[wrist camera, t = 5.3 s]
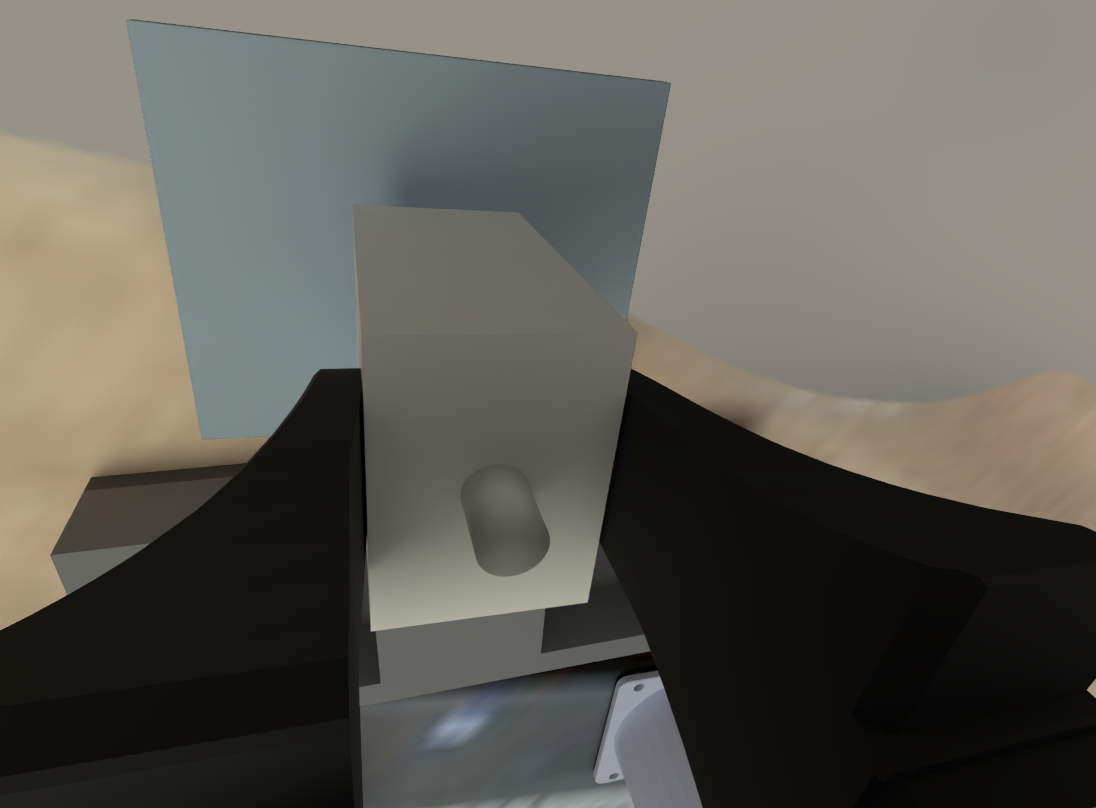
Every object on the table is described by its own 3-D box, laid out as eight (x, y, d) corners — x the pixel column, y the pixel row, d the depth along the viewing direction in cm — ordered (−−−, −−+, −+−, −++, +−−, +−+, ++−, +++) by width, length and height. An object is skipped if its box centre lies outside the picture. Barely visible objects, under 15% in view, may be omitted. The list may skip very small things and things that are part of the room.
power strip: (720, 413, 24) (784, 480, 20) (682, 571, 28) (729, 649, 24) (95, 469, 18) (40, 573, 15) (160, 654, 22) (129, 769, 19)
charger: (518, 212, 15) (676, 371, 8) (502, 405, 17) (611, 659, 10) (351, 204, 14) (365, 379, 7) (359, 411, 16) (374, 697, 9)
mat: (662, 81, 17) (671, 83, 16) (602, 412, 22) (607, 420, 21) (132, 19, 13) (125, 19, 13) (205, 429, 18) (201, 439, 18)
